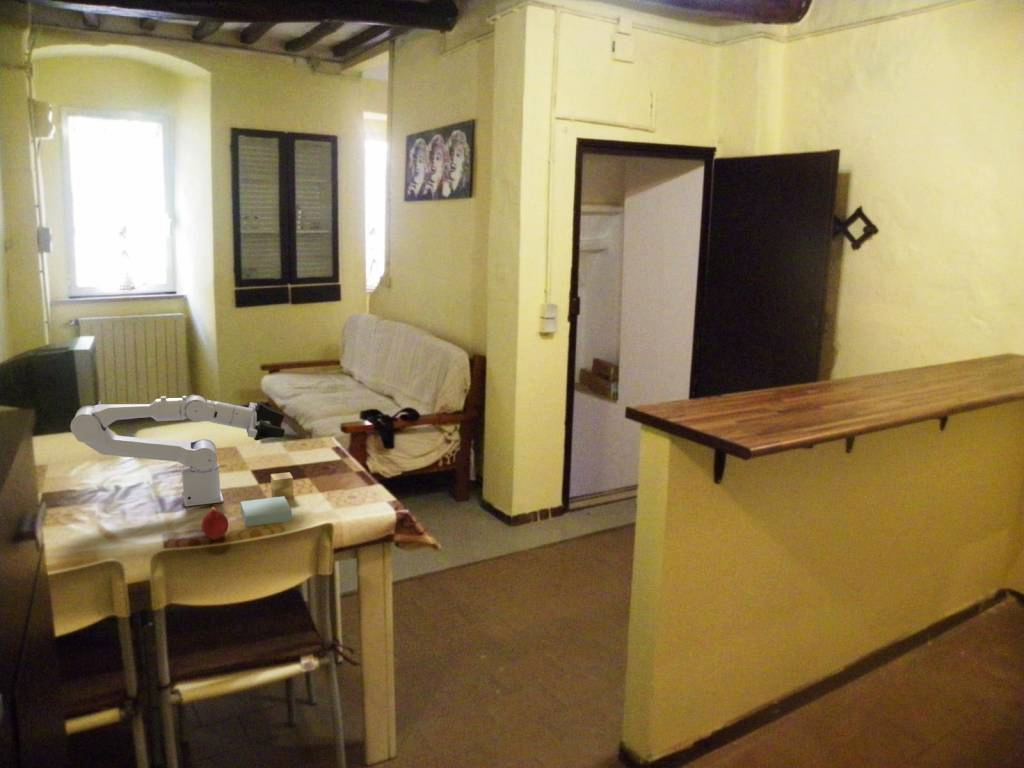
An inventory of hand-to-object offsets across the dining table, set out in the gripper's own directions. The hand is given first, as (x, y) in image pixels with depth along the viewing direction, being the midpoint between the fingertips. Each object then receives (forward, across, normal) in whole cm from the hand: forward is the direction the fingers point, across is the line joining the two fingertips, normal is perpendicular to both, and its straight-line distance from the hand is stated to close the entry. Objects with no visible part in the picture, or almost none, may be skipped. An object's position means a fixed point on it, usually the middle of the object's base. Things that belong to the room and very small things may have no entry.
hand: (283, 425), depth 210 cm
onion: (-13, -34, +14) cm, 39 cm away
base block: (-1, -22, +15) cm, 26 cm away
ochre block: (+4, -9, +17) cm, 19 cm away
